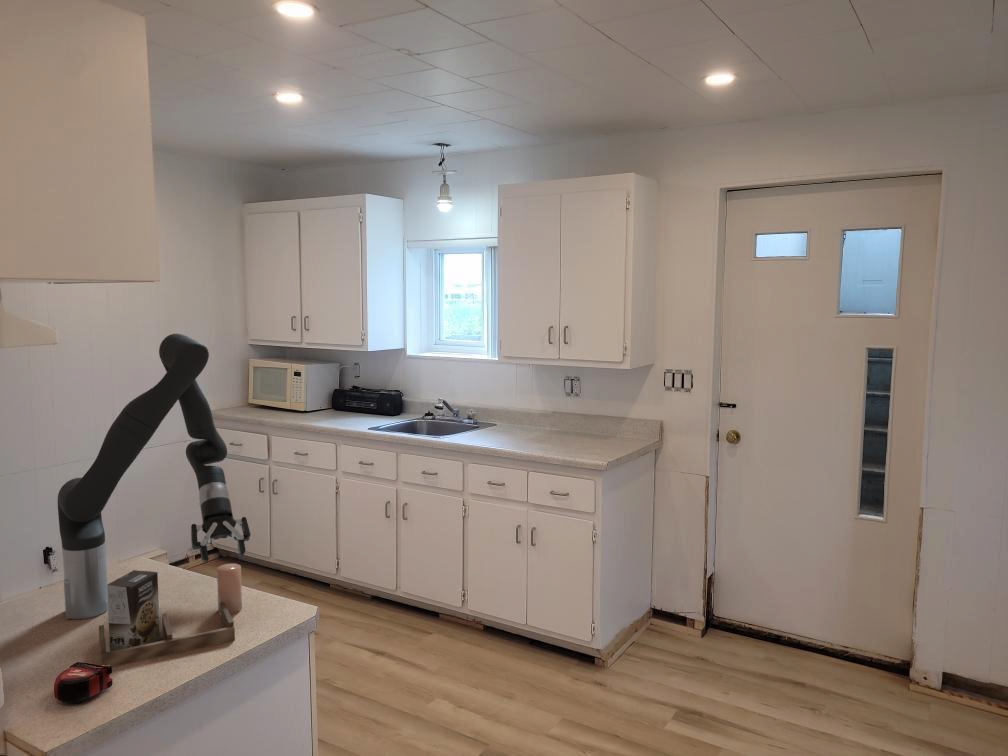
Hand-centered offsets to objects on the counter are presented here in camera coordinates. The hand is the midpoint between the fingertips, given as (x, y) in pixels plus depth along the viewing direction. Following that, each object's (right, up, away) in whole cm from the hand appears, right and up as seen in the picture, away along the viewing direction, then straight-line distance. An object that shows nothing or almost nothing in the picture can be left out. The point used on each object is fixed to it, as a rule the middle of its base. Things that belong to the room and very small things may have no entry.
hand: (224, 558), depth 191 cm
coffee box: (-11, -14, -23) cm, 30 cm away
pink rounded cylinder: (+3, -12, -4) cm, 13 cm away
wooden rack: (-5, -14, -21) cm, 26 cm away
